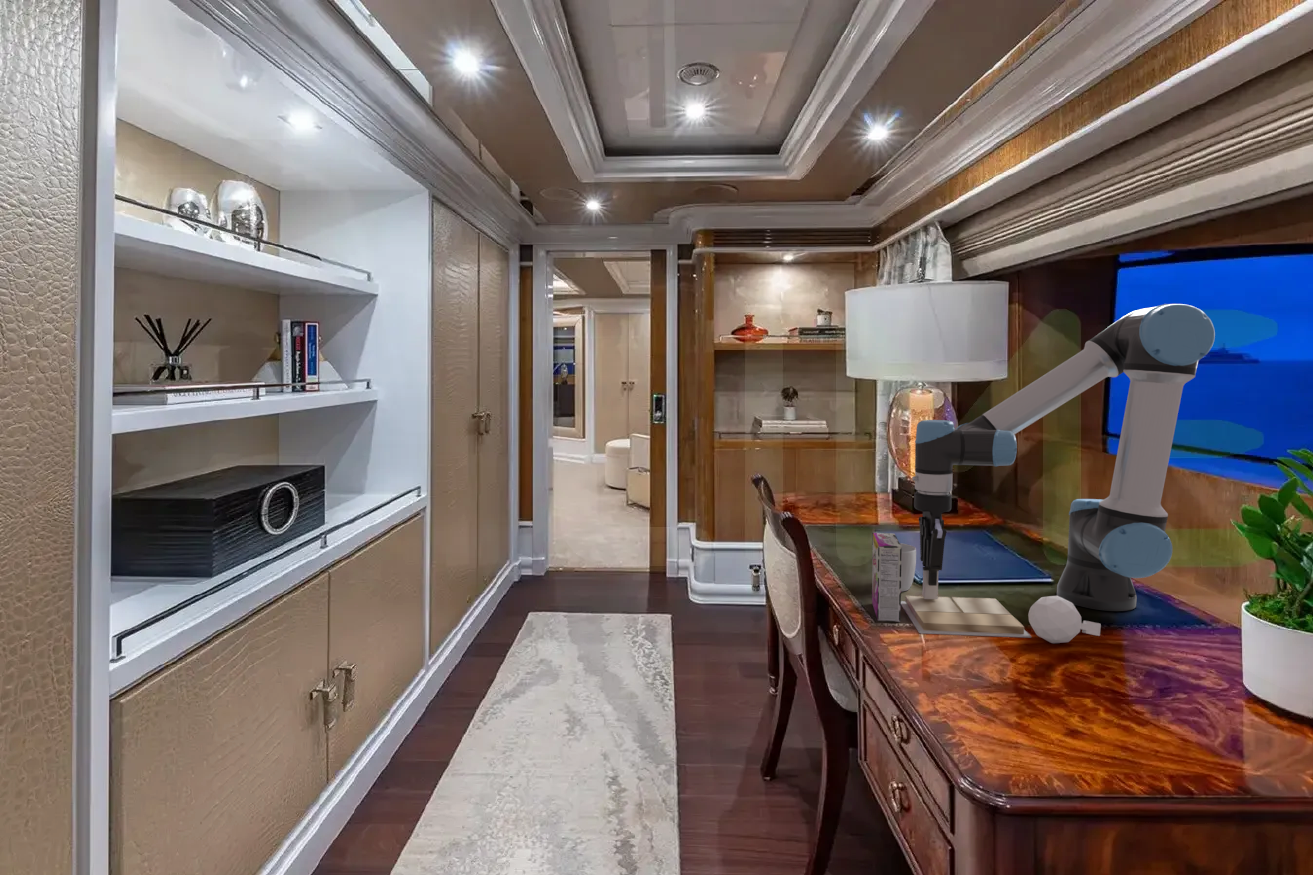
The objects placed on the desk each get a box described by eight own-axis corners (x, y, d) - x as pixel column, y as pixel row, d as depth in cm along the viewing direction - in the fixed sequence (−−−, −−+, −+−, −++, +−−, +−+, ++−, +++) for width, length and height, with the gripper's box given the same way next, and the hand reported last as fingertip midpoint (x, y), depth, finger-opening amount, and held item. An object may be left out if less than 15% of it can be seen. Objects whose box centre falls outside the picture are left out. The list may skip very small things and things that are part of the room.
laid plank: (1010, 621, 141) (1011, 614, 141) (1023, 633, 135) (1024, 626, 135) (915, 617, 144) (915, 611, 144) (923, 630, 137) (923, 622, 137)
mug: (909, 596, 158) (910, 554, 157) (870, 589, 163) (871, 548, 162) (923, 581, 169) (924, 542, 167) (886, 575, 174) (887, 537, 173)
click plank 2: (994, 604, 150) (995, 598, 150) (1010, 620, 142) (1010, 614, 141) (951, 603, 152) (951, 596, 151) (963, 619, 143) (964, 612, 143)
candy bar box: (870, 603, 154) (872, 532, 152) (893, 604, 153) (895, 532, 151) (875, 621, 143) (877, 544, 141) (901, 623, 142) (903, 546, 140)
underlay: (997, 605, 151) (997, 604, 151) (1031, 637, 134) (1031, 636, 134) (899, 602, 154) (899, 601, 154) (919, 633, 136) (919, 631, 136)
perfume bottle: (1031, 639, 128) (1103, 654, 125) (1036, 590, 130) (1108, 604, 126) (1020, 636, 136) (1088, 650, 133) (1025, 590, 138) (1093, 603, 134)
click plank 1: (948, 602, 152) (948, 596, 151) (960, 619, 143) (961, 612, 143) (905, 601, 153) (905, 595, 153) (915, 617, 144) (915, 610, 144)
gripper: (907, 486, 155) (905, 587, 157) (922, 497, 141) (919, 607, 144) (942, 486, 154) (939, 588, 156) (960, 497, 140) (957, 609, 143)
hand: (930, 597), depth 150 cm, fingers closed
